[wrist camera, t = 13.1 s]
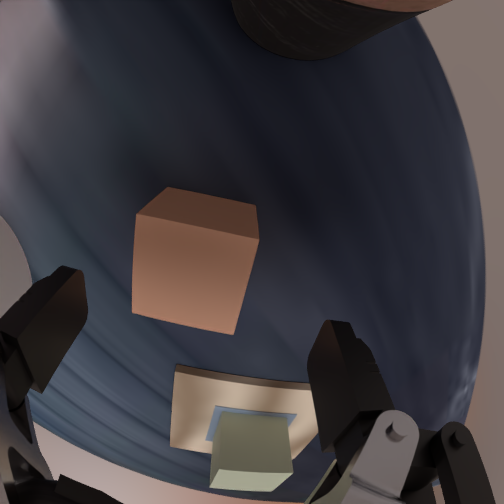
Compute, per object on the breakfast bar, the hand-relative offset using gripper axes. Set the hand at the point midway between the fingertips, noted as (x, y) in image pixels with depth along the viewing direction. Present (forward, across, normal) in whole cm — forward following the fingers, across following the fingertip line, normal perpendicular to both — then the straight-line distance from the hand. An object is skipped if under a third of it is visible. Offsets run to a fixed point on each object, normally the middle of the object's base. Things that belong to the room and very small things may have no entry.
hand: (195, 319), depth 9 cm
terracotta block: (+8, +1, +1) cm, 8 cm away
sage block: (+7, -6, +19) cm, 21 cm away
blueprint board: (+8, -6, +20) cm, 22 cm away
